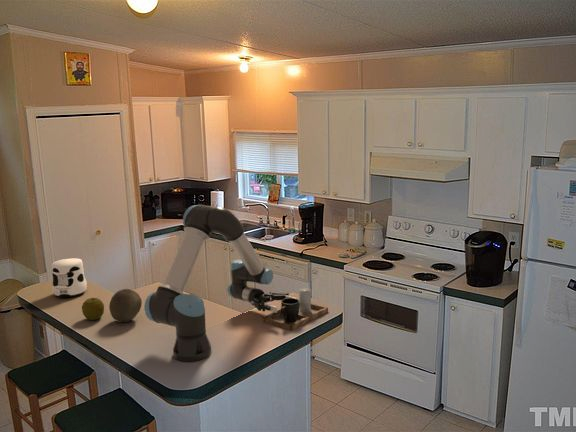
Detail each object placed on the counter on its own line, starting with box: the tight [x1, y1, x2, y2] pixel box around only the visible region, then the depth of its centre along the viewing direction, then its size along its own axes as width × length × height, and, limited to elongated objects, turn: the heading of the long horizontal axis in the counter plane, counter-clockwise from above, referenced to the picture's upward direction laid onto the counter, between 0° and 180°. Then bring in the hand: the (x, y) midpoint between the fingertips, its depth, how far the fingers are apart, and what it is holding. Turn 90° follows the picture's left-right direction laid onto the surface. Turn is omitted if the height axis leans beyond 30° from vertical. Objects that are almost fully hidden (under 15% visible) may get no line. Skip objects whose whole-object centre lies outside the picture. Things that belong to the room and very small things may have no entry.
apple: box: [81, 297, 105, 321], centre depth 249 cm, size 10×10×11 cm
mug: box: [280, 297, 300, 324], centre depth 239 cm, size 8×12×10 cm
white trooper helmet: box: [51, 257, 88, 298], centre depth 284 cm, size 17×17×18 cm
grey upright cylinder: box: [298, 287, 312, 314], centre depth 250 cm, size 6×6×11 cm
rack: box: [262, 302, 329, 331], centre depth 246 cm, size 27×17×2 cm, turn 140°
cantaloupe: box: [108, 288, 143, 323], centre depth 245 cm, size 14×14×15 cm
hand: (286, 305), depth 239 cm, fingers open, 13 cm apart
